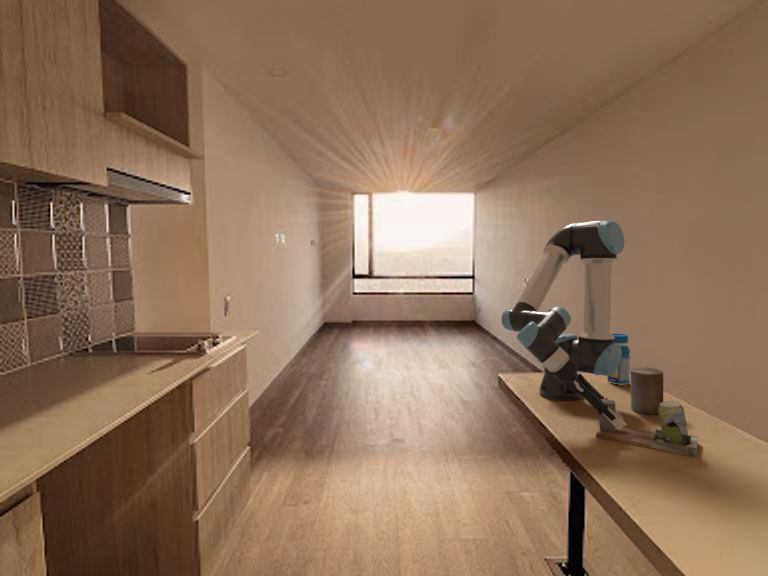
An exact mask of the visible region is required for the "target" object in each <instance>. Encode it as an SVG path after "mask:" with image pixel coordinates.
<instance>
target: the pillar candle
mask: <svg viewBox="0 0 768 576" xmlns="http://www.w3.org/2000/svg"><path fill="white" fill-rule="evenodd" d="M662 402H664V371H663V370H661V369H658V368H652V367H648V366H646V367H634V368H630V409H631V411H633V412H634V413H637V414H643V415H649V416H650V415H654V416H655V415H657V416H659V412H658V408H659V406H660V403H662Z"/></svg>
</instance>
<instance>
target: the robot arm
mask: <svg viewBox="0 0 768 576" xmlns="http://www.w3.org/2000/svg"><path fill="white" fill-rule="evenodd" d="M624 248H625V235H624V232H623V230H622V227H621V226H620V224H619V223H618V222H616V221H614V220H594V221H585V222H572V223H570V224H567V225H565V226H564V227H562V228H561V229H559V230H558V231H556V233H555V234H553V235H552V236H551V238H550V239H549V240H548V241H547V243H546V244H545V246H544V248H543V250H542V251H543V252H542V253H543V255H542V257H541V259H540V261H539V262H538V264H537V266H536V268H535V270H534V271H533V274H532V275H531V277H530V279H529V280H528V282H527V284H526V285H525V288H524V290H523V291H522V293H521V295H520V296H519V298H518V300H517V302H516V304H515V306H514V307H513V308H507V309H505V310H503V312H502V315H501V325H502V326H503V328H504V329H506V330H508V331H510V332H516V333H517V332H518V333H517V334H516V339H517V340H518V342H519V343H520V344H521V345H522V346H523V347H524V349H526V350H527V351H528V352H529V353H530V354H531V355H532V356H534V358H536V360H538V362H540V363H541V364H542V368H543V369H544V370H543V371H544V373H543V377H542V378H541V379H542V380H541V382H540V385H539V395H540V394H541V395H540V396H542V397H544V398H547V399H550V398H551V399H552V400H555V399H557V401H576V400H579V399H582V398H583V399H584V400H585V401H587V402H588V403H589V405H590V406H592V408H594V409H595V410H596V411H597V414H598V416H599V415H600V414H603V415H604V416H605V417H606V418H607V419H608V420H609V421H610V422H611V423H612V424H613V425H614V426H615V427H616V428H617V429H618V430H620V429H622V428H623V427H626V426H627V423H626V422H625V421H624V420H625V417H624V416H622V415H621V413H619V412H618V411H617V409H615V412H613V411H612V410H611V409H610V408H609V407H607V406H606V405H605V404H604V403H603V402H602V401H601V400H600V399H605V400H609V398H607V397H605V396H604V395H602V393H600V392H599V391H598V390H597V389H596V388H595V387H594V386H593V384H591V383H590V382H589V381H588V380H587V379H586V378H585V377H584V376H583V375H582V373H586V374H587V373H588V374H593V375H595V376H605V377H608V376H610V375H612V374H613V373H614V372H615V371H616V370H617V368H618V366H619V364H620V361H621V355H622V351H621V347H620V346H619V345H618V344H616V343H615V337H614V336H613V335H612V334H613V333H611V309H612V308H611V306H612V303H611V302H612V301H611V300H612V268H613V267H612V264H613V263H614V262H615V261H617V256H618V255H620V254H621V253H622V252H624V251H623V250H624ZM576 255H578V256H579V255H580V257H579V259H580V261H581V262H582V263H583V264H584V286H583V287H584V288H583V289H584V290H583V292H584V293H583V324H582V325H583V328H582V332H580V334H579V335H577V334H575V333H564V332H565V331H566V330H567V328H568V327H569V325H570V324H571V321H572V318H571V315H570V313H569V312H568V310H566V308H564V307H561V306H554V307H551V308H550V309H548V311H540V308H541V306H542V304H543V302H544V301H545V299H546V297H547V295H548V293H549V291H550V289H551V287H552V285H553V284H554V282H555V280H556V279H557V276H558V275H559V273H560V271H561V269H562V267H563V265H564V264H566V263H568V262H569V261H570V259H571V257H574V256H576ZM578 372H582V373H578Z"/></svg>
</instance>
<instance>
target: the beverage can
mask: <svg viewBox="0 0 768 576" xmlns="http://www.w3.org/2000/svg"><path fill="white" fill-rule="evenodd" d="M658 412H659V415H658V417H659V423H660V430H662V435H663V438H662V442H666V443H672V444H677V445H682V446H690V442H689V437H688V435H689V431H688V426H687V420H686V419H687V418H686V416H685V415H686V414H685V408H684V406H682V405H681V403H680V402H678V401H671V400H669V401H663V402H662V403H660V406H659V408H658Z"/></svg>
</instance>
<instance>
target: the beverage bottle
mask: <svg viewBox="0 0 768 576" xmlns="http://www.w3.org/2000/svg"><path fill="white" fill-rule="evenodd" d="M611 334H612V335H613V336H614V337H615V343H616V344H618V345H619V346H620V347H621V351H622V355H621V361H620V364H619V366H618V368H617V370H616V371H615V372H614V373H613V374H612V375H610V376H607V383H609V384H611V383H613V384H612V385H615V384H618V385H617V386H627V384H628V385H629V384H631V367H630V366H631V363H630V361H631V356H630V353H631V350H630V348H629V347H628V345H627V344H628V342H629V336H628V334H626V333H625V334H624V333H611Z"/></svg>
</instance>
